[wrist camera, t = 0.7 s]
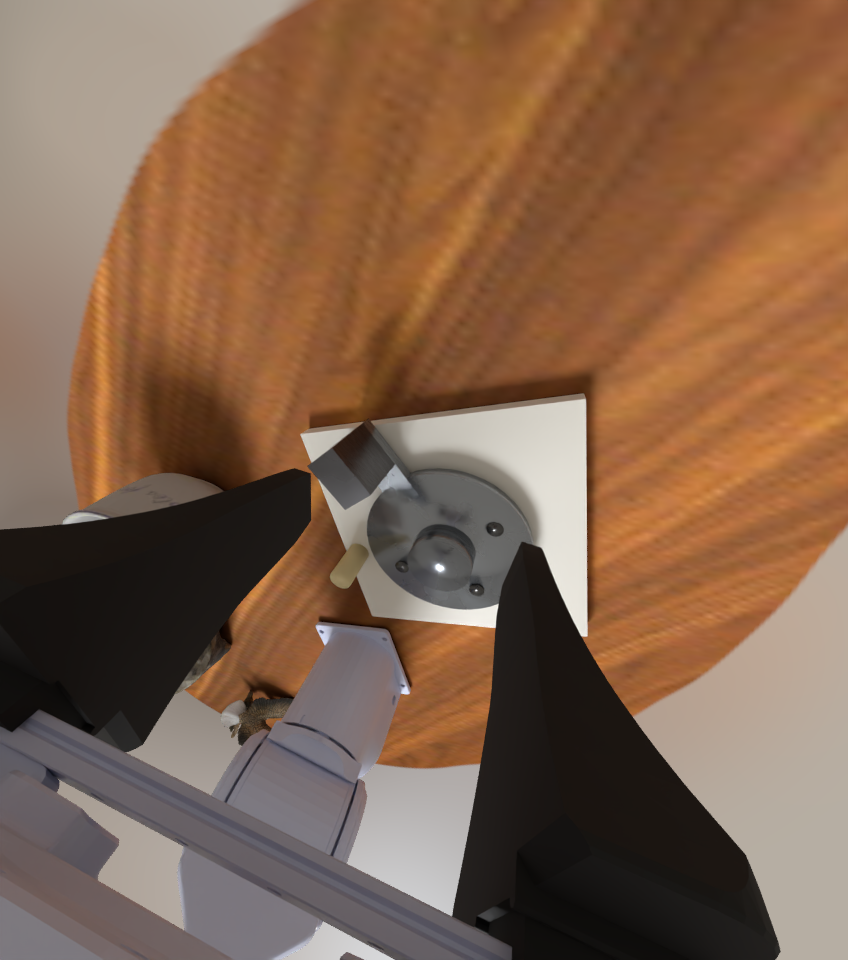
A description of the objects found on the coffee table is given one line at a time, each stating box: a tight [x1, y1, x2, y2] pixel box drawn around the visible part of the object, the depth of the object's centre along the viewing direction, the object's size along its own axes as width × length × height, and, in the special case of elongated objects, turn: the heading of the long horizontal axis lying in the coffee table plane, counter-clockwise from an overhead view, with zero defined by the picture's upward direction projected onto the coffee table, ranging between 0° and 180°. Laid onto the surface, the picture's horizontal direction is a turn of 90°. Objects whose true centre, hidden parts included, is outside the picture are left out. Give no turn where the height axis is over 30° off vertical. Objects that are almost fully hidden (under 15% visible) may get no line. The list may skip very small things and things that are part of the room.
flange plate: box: [307, 418, 534, 610], centre depth 21 cm, size 15×11×4 cm
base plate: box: [300, 393, 587, 637], centre depth 22 cm, size 17×17×4 cm
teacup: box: [62, 473, 224, 524], centre depth 28 cm, size 14×11×8 cm
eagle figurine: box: [221, 691, 294, 746], centre depth 45 cm, size 8×7×9 cm
